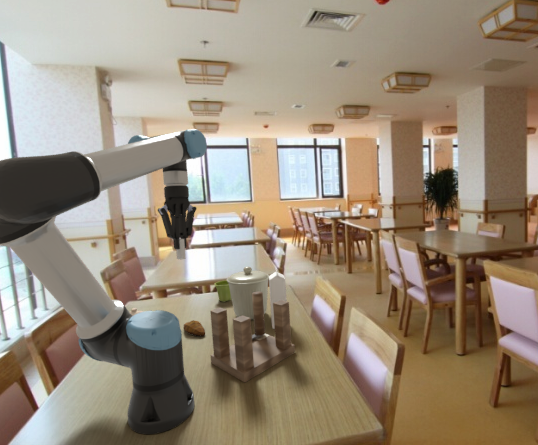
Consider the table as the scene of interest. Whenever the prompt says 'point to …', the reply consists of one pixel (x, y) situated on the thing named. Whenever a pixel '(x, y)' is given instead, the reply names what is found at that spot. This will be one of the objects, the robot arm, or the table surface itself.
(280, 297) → the milk
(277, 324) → the stool seat
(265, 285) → the canister
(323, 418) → the table surface
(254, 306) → the hinged leg
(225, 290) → the plant pot
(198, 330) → the croissant
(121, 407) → the table surface
